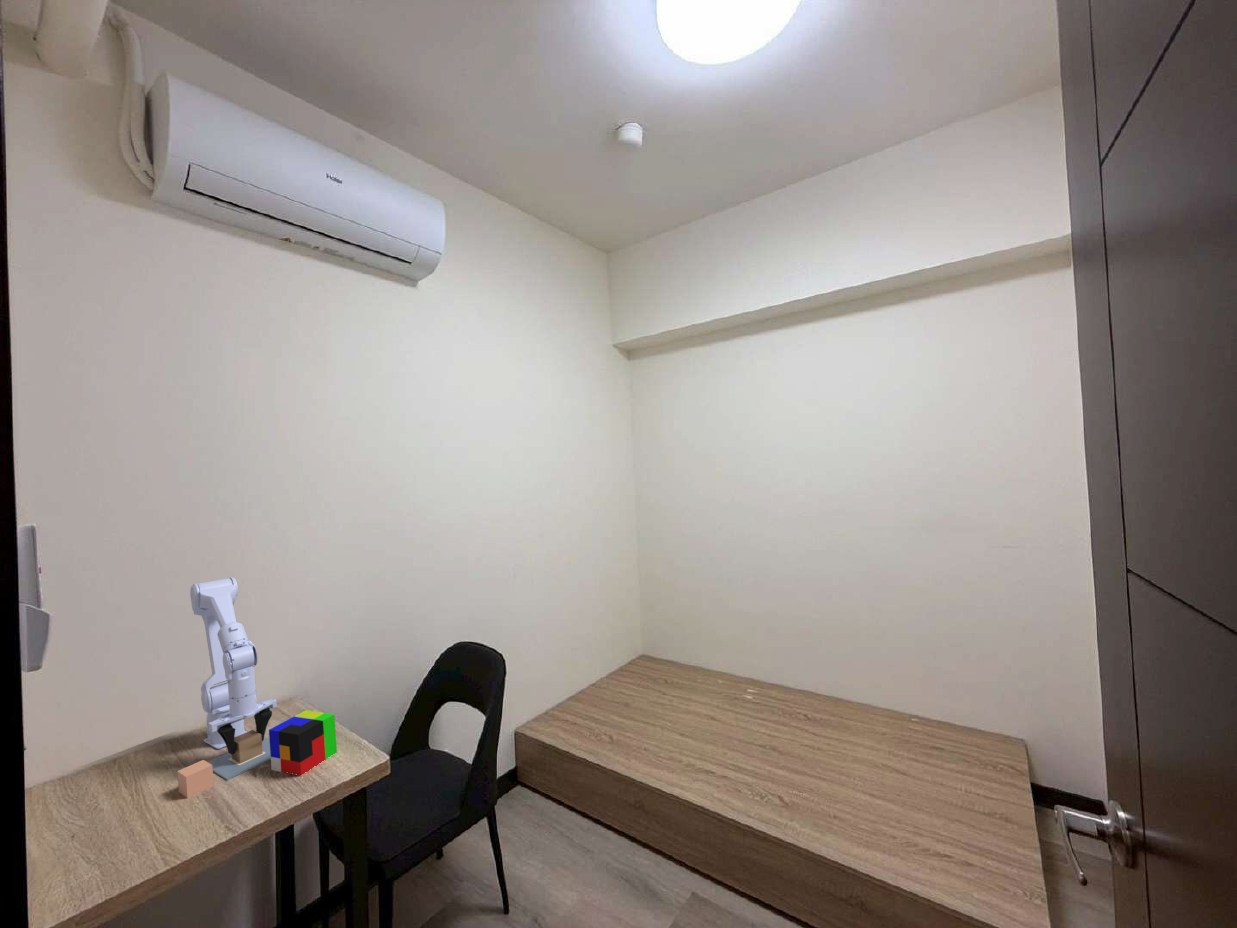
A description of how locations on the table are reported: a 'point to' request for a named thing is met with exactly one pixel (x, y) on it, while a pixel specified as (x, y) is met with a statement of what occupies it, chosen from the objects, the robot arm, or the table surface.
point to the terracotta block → (195, 778)
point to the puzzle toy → (302, 742)
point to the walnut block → (247, 746)
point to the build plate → (232, 768)
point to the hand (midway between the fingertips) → (246, 746)
